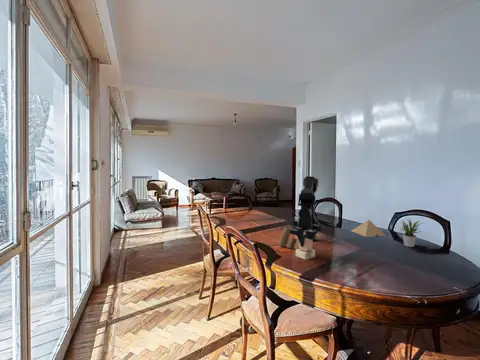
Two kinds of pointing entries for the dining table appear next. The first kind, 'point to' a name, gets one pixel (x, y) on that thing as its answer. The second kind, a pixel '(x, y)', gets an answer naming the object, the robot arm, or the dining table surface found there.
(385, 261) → the dining table surface
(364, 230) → the model pyramid
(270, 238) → the dining table surface
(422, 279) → the dining table surface
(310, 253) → the maple base
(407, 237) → the house plant
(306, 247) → the terracotta cube
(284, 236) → the wooden block set
